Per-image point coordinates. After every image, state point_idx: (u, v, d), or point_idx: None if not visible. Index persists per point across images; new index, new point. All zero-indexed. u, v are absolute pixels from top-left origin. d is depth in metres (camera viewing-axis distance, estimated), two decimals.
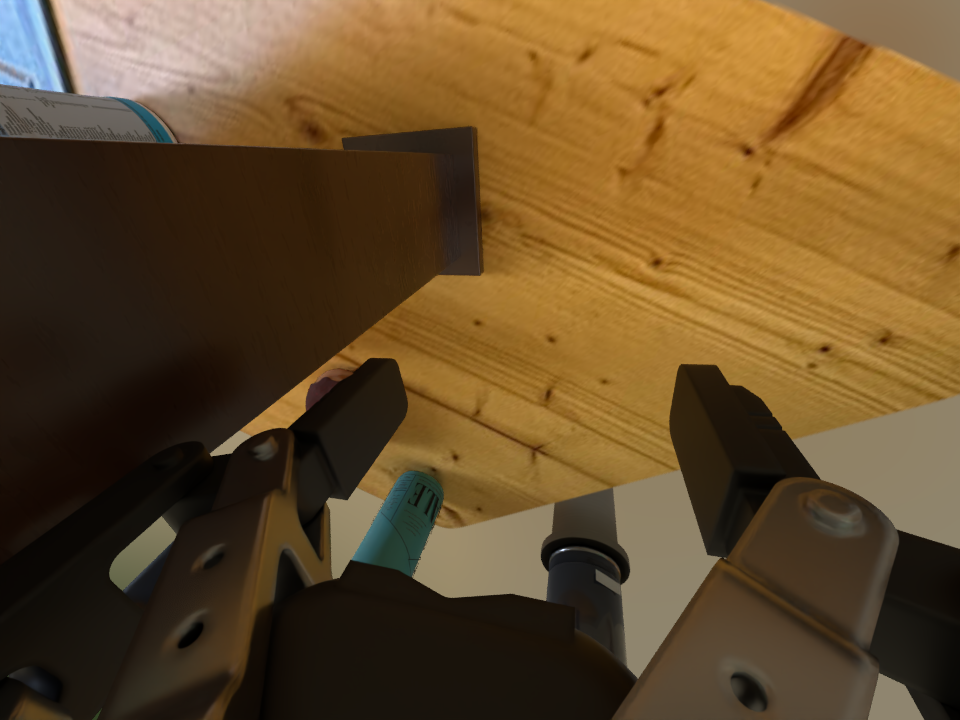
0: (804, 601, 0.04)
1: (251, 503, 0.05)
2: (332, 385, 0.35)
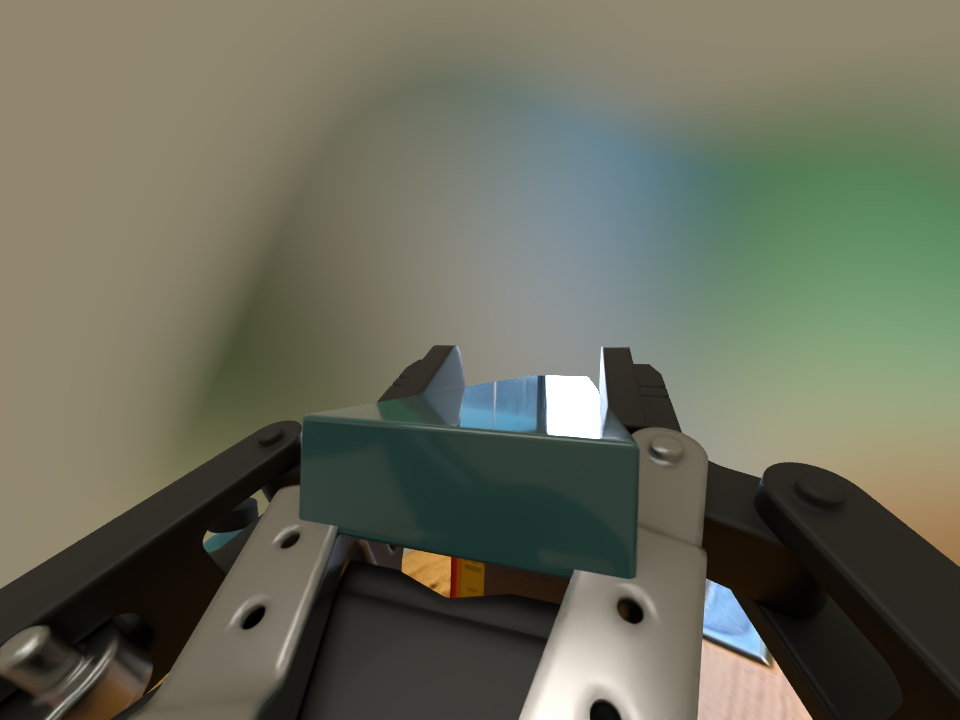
0: None
1: None
2: None
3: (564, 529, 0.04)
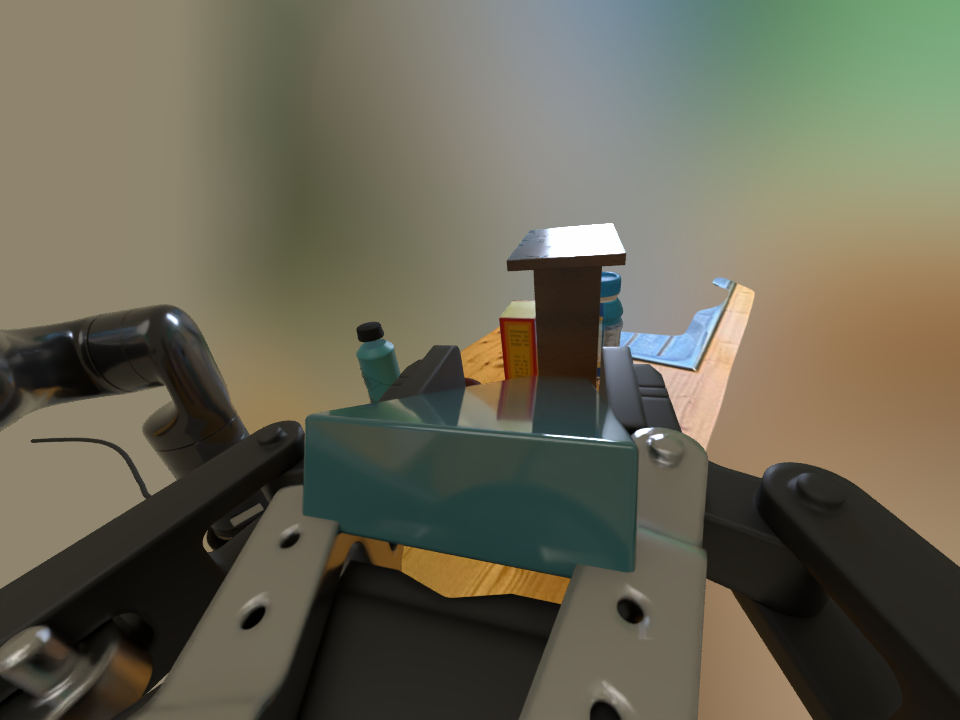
0: None
1: None
2: None
3: (564, 528, 0.04)
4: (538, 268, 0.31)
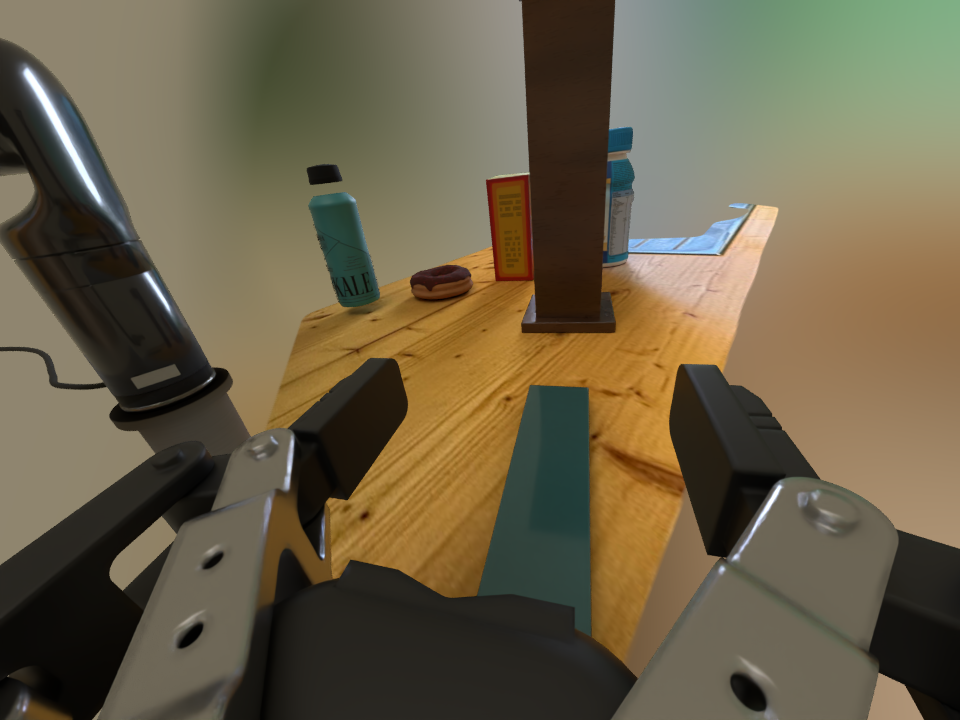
0: (804, 601, 0.04)
1: (252, 503, 0.05)
2: (465, 273, 0.55)
3: None
4: None
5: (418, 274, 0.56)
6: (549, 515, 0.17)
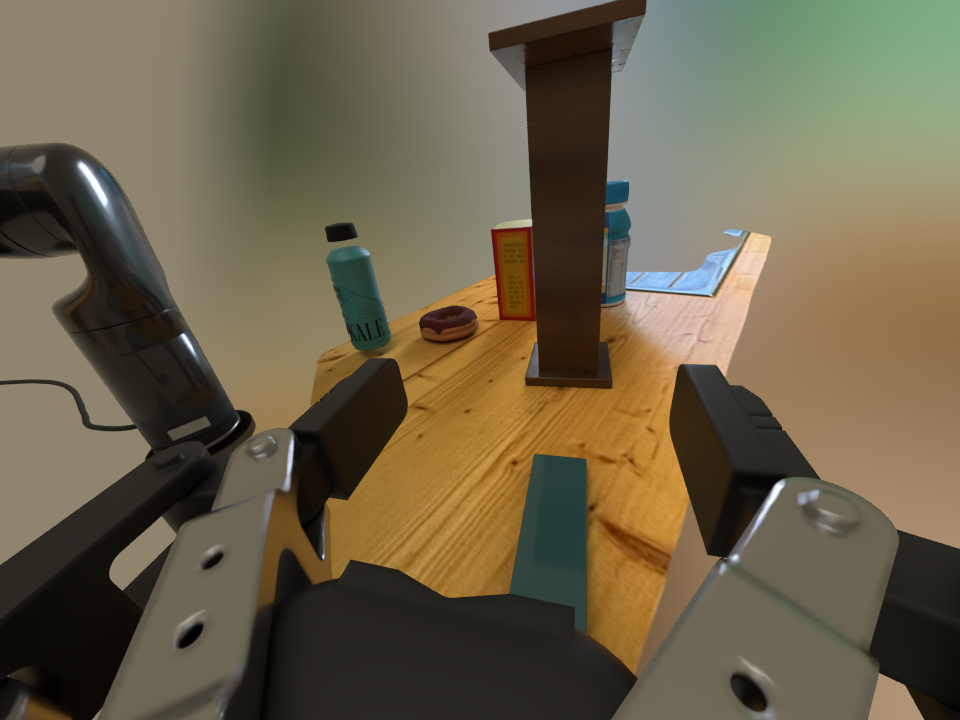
0: (804, 601, 0.04)
1: (251, 503, 0.05)
2: (471, 316, 0.58)
3: None
4: (529, 39, 0.23)
5: (427, 316, 0.59)
6: (552, 598, 0.20)
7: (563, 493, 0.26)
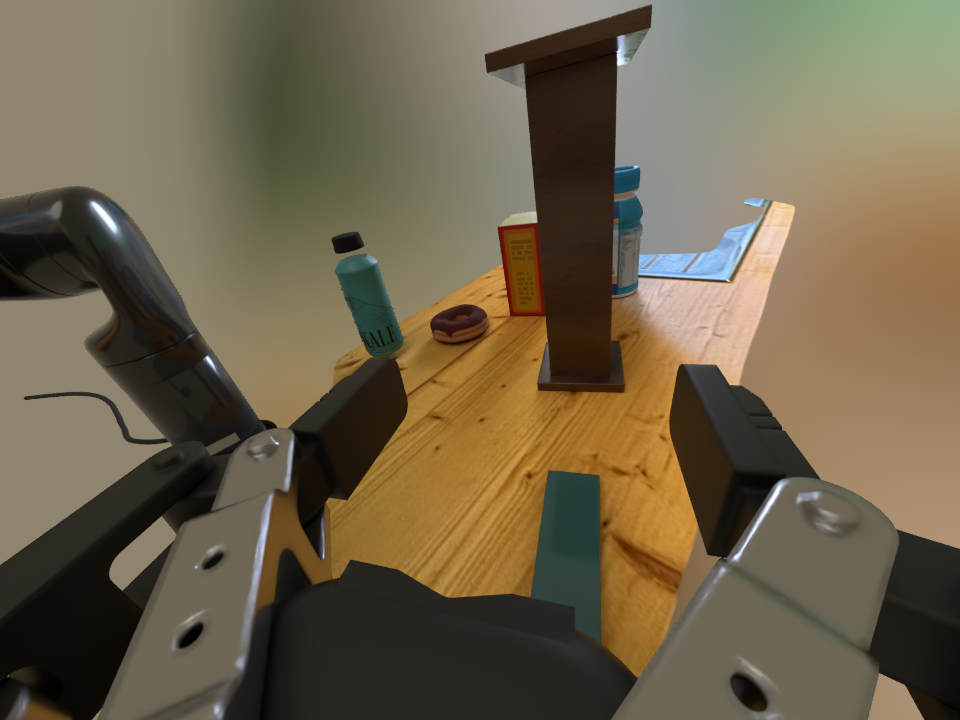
0: (804, 601, 0.04)
1: (252, 503, 0.05)
2: (482, 315, 0.58)
3: None
4: (528, 59, 0.22)
5: (437, 317, 0.59)
6: None
7: (577, 513, 0.27)
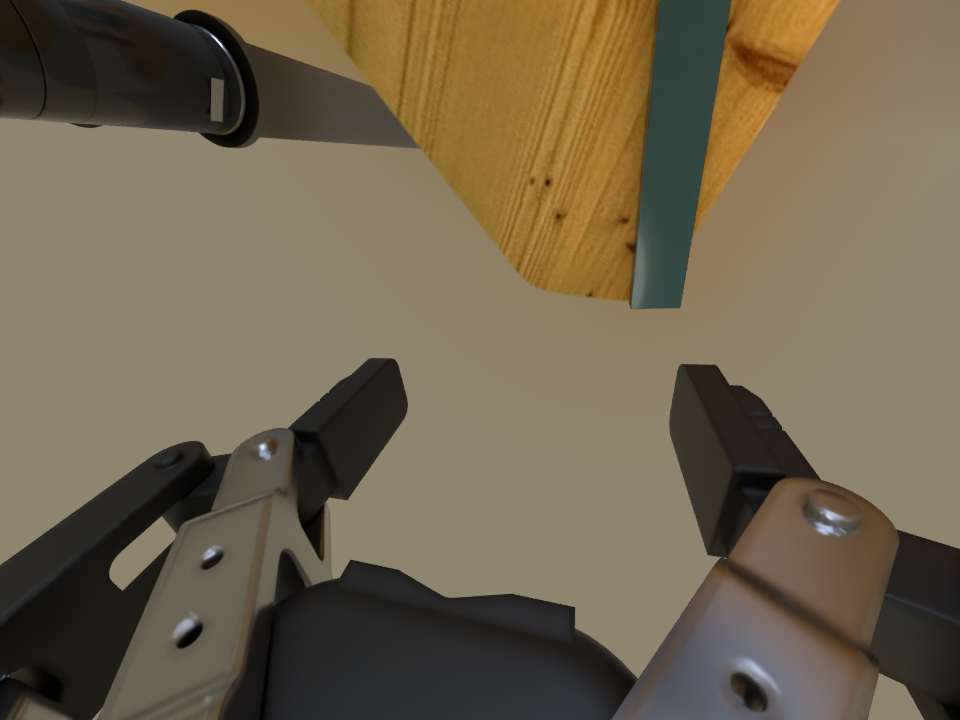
0: (805, 601, 0.04)
1: (252, 503, 0.05)
2: None
3: None
4: None
5: None
6: (678, 160, 0.28)
7: (698, 35, 0.24)
